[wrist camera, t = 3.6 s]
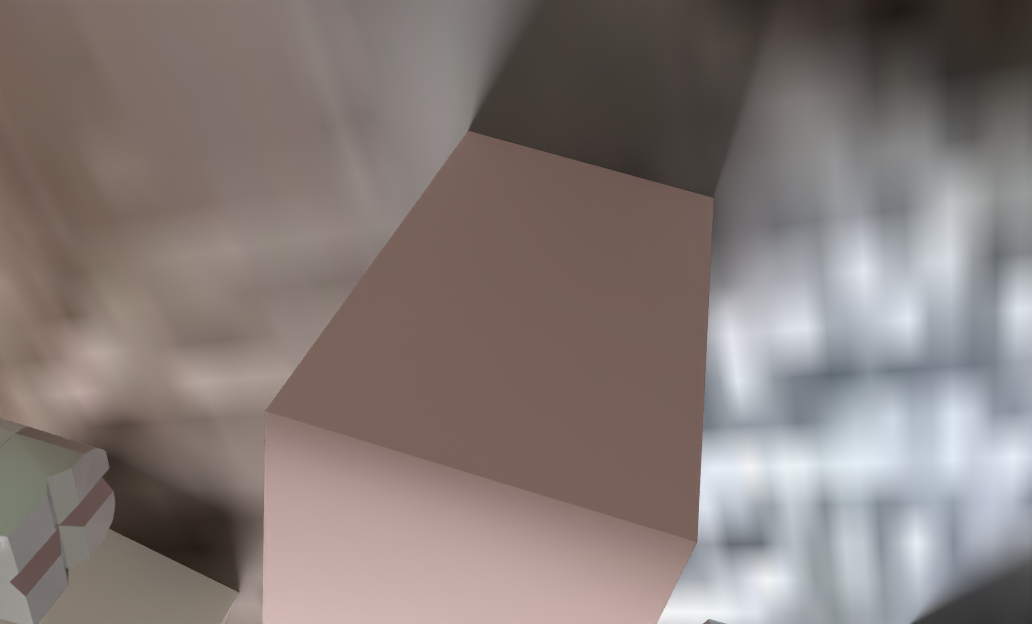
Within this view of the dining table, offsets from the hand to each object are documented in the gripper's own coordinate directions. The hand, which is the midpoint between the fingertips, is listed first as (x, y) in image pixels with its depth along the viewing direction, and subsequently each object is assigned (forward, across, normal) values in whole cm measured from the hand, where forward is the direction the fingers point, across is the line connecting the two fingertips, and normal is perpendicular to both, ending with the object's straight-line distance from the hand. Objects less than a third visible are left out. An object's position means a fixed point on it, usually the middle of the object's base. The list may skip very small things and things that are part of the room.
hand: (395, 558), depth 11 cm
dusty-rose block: (+7, -1, -1) cm, 7 cm away
